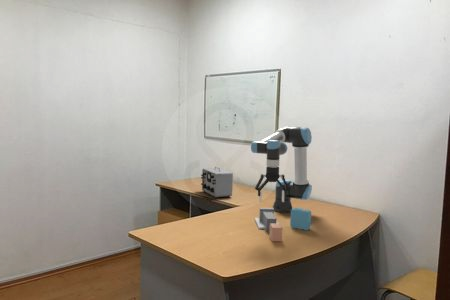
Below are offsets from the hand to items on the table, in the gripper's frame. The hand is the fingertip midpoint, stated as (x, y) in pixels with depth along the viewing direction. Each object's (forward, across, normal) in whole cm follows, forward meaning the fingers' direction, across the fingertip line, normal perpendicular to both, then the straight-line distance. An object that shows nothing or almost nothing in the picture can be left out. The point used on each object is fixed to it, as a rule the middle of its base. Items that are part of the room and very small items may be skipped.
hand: (271, 201), depth 198 cm
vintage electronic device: (+21, +30, -105) cm, 111 cm away
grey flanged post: (+20, -1, -15) cm, 25 cm away
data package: (+20, -21, -10) cm, 31 cm away
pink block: (+19, -1, +10) cm, 22 cm away
